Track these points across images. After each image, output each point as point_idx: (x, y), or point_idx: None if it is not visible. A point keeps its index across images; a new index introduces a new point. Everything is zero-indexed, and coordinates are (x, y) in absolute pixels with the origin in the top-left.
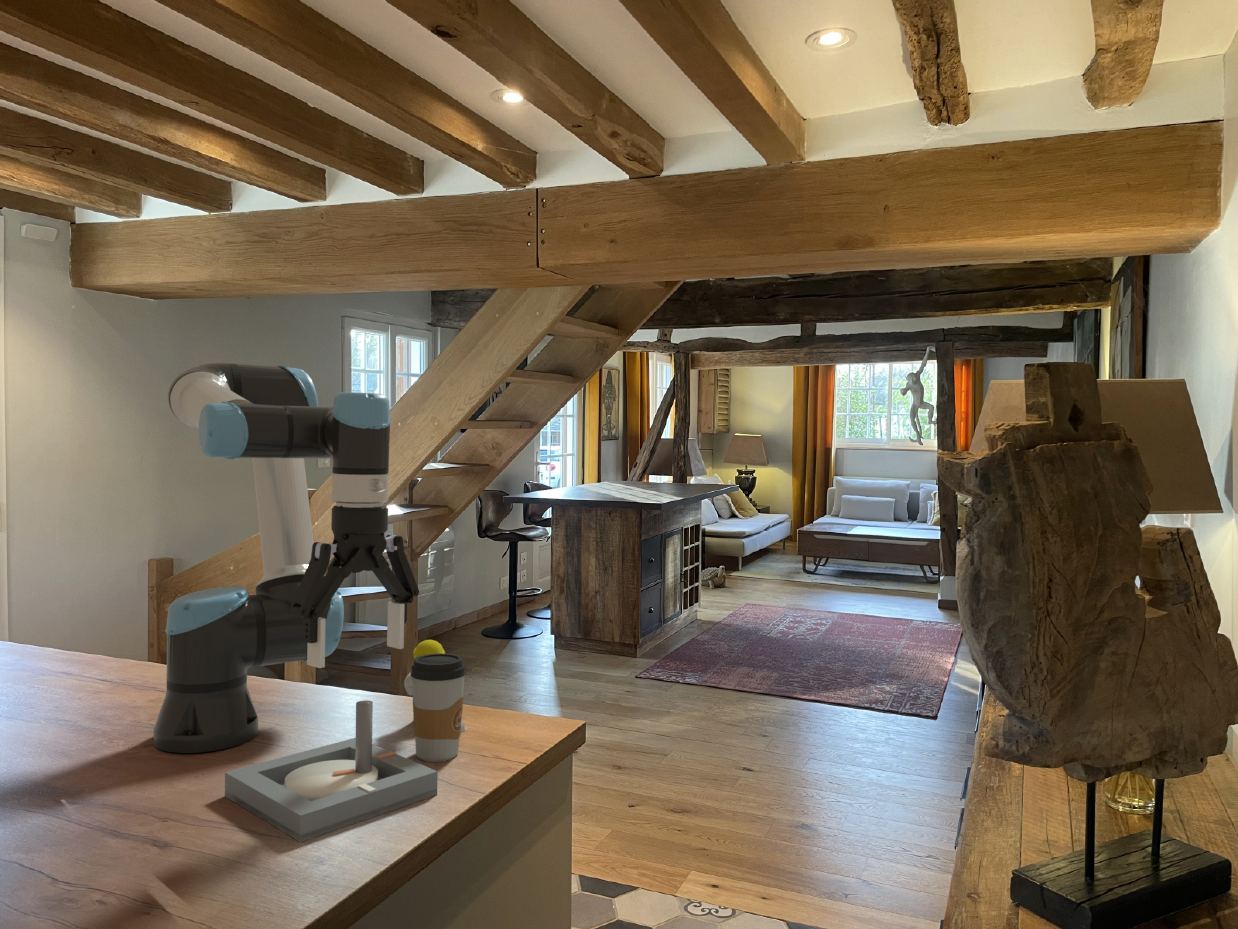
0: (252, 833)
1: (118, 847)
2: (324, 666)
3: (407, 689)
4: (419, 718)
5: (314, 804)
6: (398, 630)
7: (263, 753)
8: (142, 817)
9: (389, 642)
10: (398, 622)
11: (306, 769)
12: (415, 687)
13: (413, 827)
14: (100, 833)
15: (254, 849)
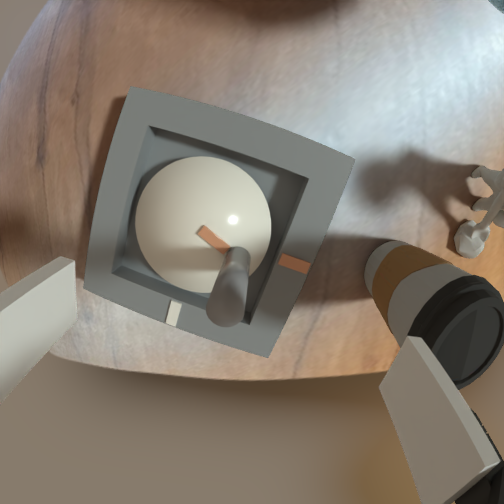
0: (86, 214)
1: (27, 126)
2: (76, 321)
3: (499, 178)
4: (385, 287)
5: (107, 283)
6: (401, 426)
7: (299, 19)
8: (72, 74)
9: (407, 355)
10: (409, 451)
11: (202, 172)
12: (412, 302)
13: (181, 357)
14: (40, 82)
15: (68, 245)
